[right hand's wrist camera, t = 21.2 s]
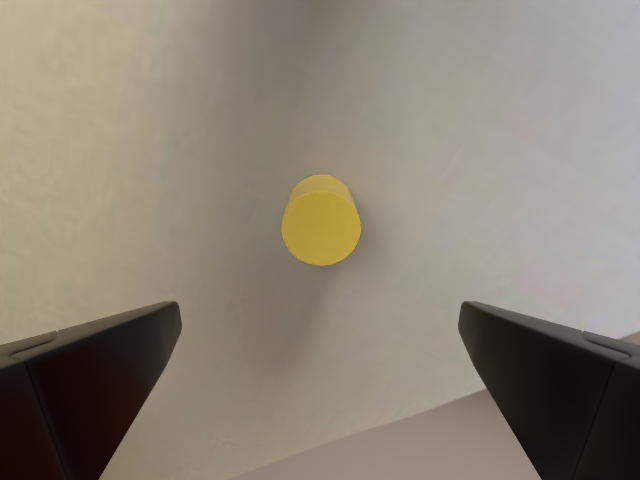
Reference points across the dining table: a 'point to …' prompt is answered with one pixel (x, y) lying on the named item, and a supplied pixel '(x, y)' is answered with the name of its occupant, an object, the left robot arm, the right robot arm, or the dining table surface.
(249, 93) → the dining table surface
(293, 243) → the cylinder
